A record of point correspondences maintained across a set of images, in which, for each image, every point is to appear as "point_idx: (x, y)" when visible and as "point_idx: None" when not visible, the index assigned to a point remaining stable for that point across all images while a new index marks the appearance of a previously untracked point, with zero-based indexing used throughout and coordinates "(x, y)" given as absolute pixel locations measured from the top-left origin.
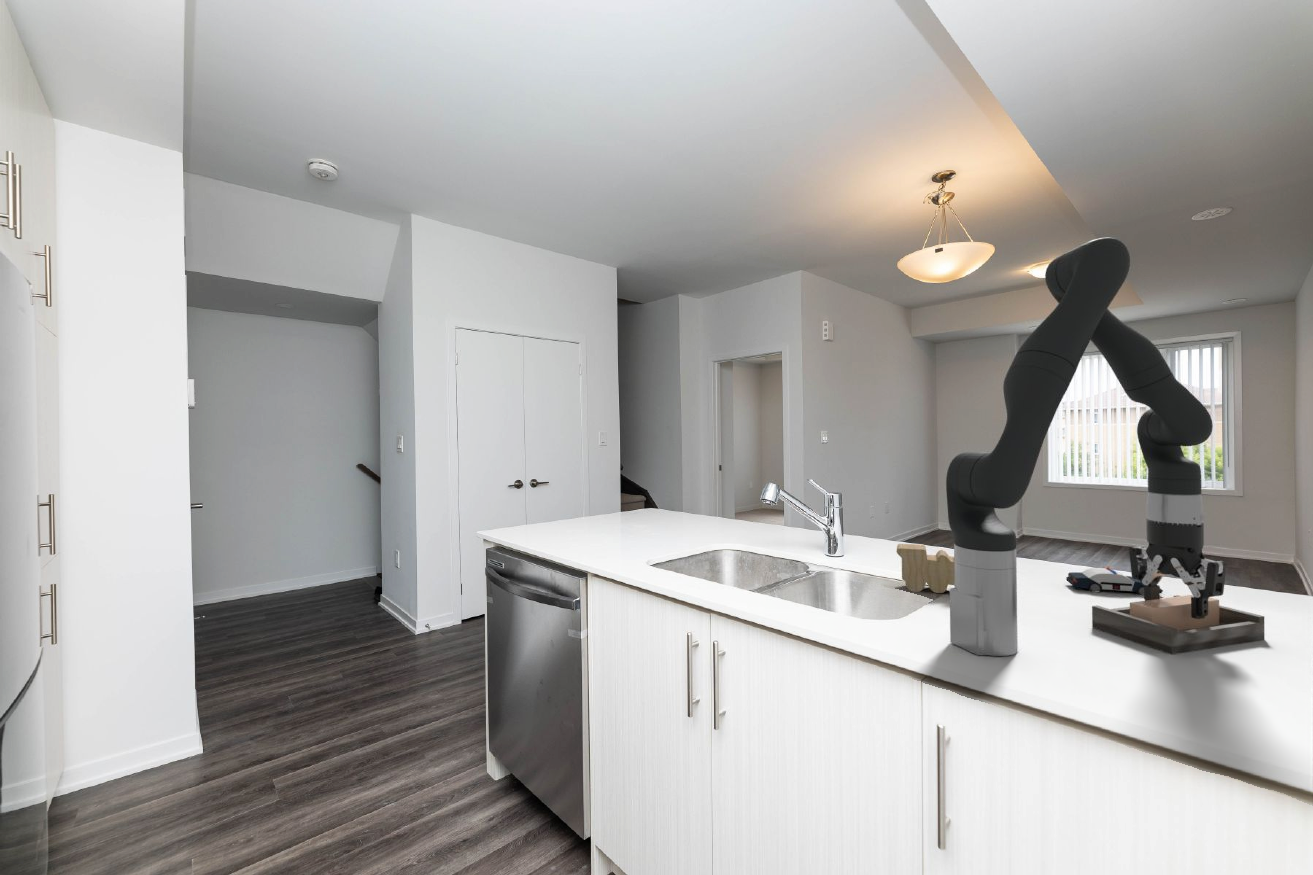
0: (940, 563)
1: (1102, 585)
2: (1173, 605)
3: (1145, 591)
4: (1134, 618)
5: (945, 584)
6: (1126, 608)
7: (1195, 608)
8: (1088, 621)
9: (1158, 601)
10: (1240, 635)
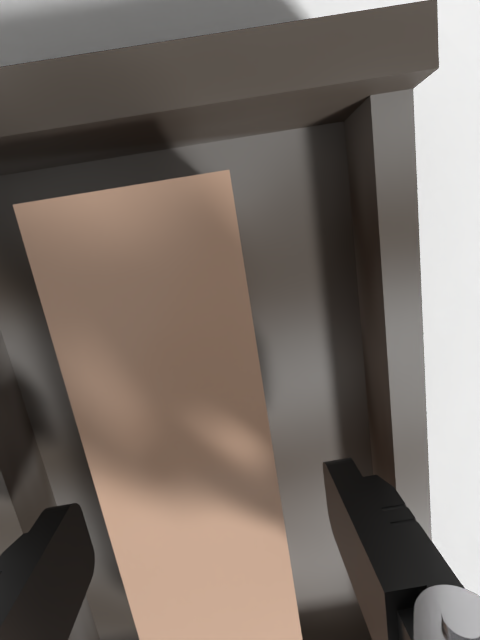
0: None
1: None
2: (99, 476)
3: (415, 537)
4: (67, 61)
5: None
6: (400, 348)
7: (9, 562)
8: (448, 161)
9: (223, 460)
10: None
